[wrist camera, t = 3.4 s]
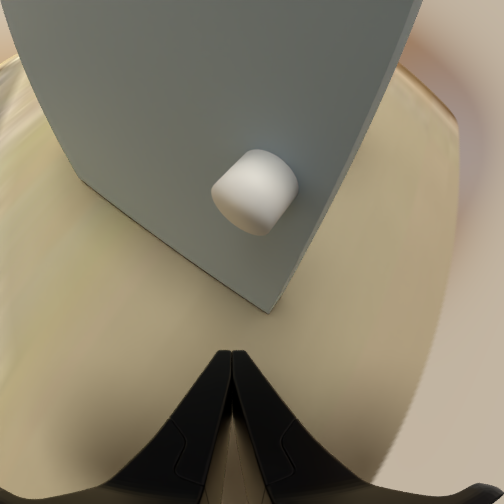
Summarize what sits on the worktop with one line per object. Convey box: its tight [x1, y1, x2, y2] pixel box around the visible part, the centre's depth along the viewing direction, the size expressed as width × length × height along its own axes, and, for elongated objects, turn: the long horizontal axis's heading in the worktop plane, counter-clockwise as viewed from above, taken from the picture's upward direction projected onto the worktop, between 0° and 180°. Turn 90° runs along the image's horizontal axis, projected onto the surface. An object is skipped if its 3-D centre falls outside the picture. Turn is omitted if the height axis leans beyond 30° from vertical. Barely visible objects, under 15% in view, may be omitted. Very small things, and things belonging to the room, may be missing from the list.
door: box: [1, 0, 423, 314], centre depth 11 cm, size 3×17×16 cm, turn 56°
